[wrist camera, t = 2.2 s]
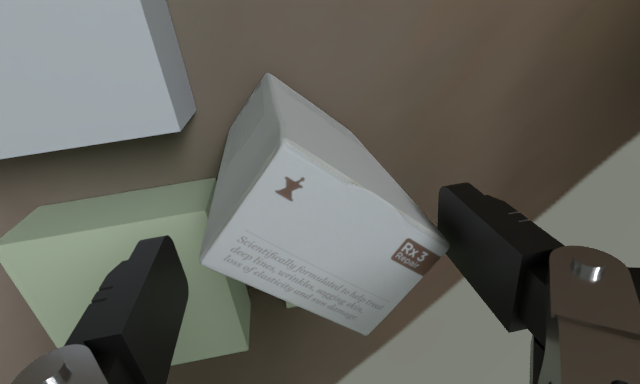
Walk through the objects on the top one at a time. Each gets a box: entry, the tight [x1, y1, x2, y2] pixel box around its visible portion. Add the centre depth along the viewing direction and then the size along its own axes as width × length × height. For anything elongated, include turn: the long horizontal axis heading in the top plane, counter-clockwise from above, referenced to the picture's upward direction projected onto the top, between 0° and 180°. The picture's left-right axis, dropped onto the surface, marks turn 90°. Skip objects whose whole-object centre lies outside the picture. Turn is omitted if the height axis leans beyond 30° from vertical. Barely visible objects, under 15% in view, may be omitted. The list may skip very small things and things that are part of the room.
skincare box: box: [199, 73, 450, 336], centre depth 15 cm, size 6×4×12 cm
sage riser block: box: [0, 178, 251, 366], centre depth 21 cm, size 10×10×4 cm
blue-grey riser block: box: [0, 0, 197, 159], centre depth 15 cm, size 10×10×4 cm
